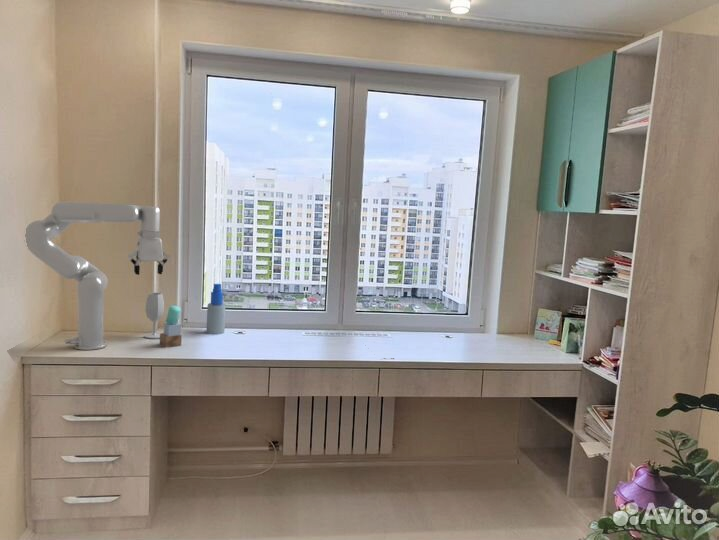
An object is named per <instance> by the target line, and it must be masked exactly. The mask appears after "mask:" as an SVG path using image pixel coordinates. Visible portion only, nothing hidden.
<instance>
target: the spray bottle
mask: <svg viewBox="0 0 719 540" xmlns="http://www.w3.org/2000/svg"><path fill="white" fill-rule="evenodd" d="M222 290H223V289H222V284H221V283H213V288H212V291H210V303H208V304H207V309H206V310H207V311H206V329H205V330H206V333H207V334H209V335H222V334H224V333H225V326H226V325H225V324H226V323H225V322H226V304H225V303H224V291H222Z"/></svg>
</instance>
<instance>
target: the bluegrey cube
mask: <svg viewBox="0 0 719 540" xmlns="http://www.w3.org/2000/svg"><path fill="white" fill-rule="evenodd" d="M181 332H182V324H181V323H180V322H177V324H175V325H171V324H168V323H167V322H164V323H163V333H164V334H165V335H167V336H177V335H182V334H181Z"/></svg>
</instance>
